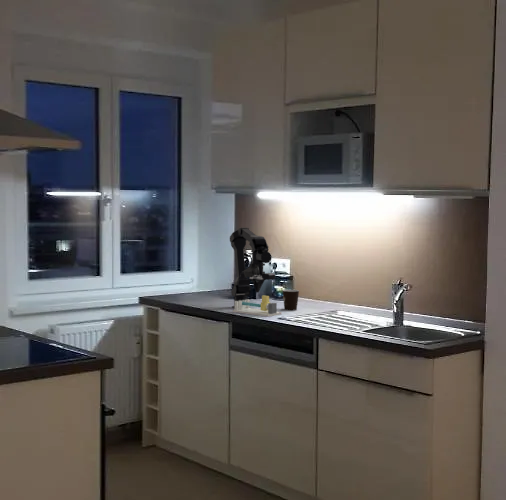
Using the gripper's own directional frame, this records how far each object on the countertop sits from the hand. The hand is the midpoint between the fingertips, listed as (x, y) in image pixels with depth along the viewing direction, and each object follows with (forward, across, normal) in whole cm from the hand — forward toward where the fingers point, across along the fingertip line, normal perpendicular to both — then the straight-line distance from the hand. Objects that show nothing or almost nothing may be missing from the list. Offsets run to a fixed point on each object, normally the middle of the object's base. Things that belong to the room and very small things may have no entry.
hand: (257, 292), depth 406 cm
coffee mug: (+11, +4, +23) cm, 26 cm away
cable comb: (+11, 0, 0) cm, 11 cm away
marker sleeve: (+9, +5, 0) cm, 10 cm away
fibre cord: (+11, 0, 0) cm, 11 cm away
